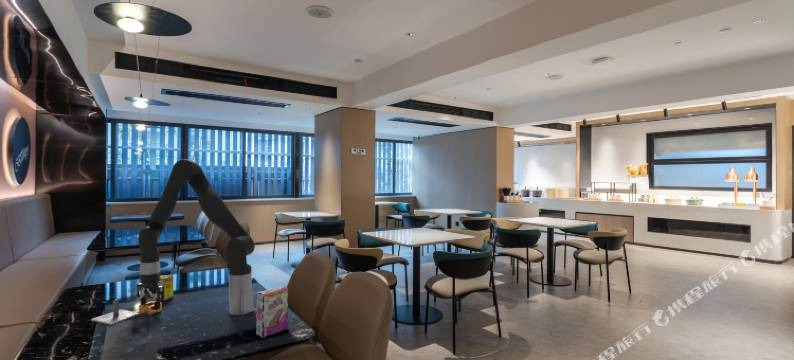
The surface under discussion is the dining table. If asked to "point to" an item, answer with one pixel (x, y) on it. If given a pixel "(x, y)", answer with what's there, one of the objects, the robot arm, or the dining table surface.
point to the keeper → (115, 315)
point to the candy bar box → (272, 311)
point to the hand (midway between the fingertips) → (150, 308)
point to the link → (148, 308)
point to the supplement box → (166, 286)
